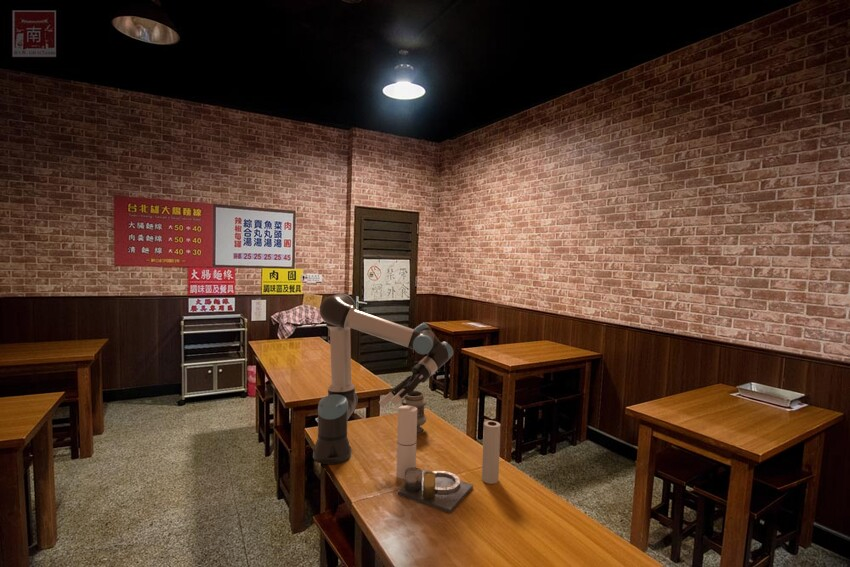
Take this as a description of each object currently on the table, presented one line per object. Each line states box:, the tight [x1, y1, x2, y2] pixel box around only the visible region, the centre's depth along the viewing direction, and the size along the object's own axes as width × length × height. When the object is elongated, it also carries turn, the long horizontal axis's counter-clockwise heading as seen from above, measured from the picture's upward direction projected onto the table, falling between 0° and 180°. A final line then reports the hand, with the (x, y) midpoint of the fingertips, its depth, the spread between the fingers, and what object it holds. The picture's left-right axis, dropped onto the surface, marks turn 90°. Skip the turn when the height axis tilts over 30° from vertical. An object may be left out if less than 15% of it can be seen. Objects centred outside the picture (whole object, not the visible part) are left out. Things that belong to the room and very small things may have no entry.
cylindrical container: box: [395, 405, 418, 480], centre depth 156 cm, size 7×7×25 cm
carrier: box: [397, 466, 474, 514], centre depth 146 cm, size 20×20×8 cm
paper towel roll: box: [481, 418, 502, 485], centre depth 154 cm, size 7×6×21 cm
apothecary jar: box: [401, 390, 427, 435], centre depth 196 cm, size 12×12×18 cm
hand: (386, 403), depth 162 cm, fingers open, 13 cm apart
